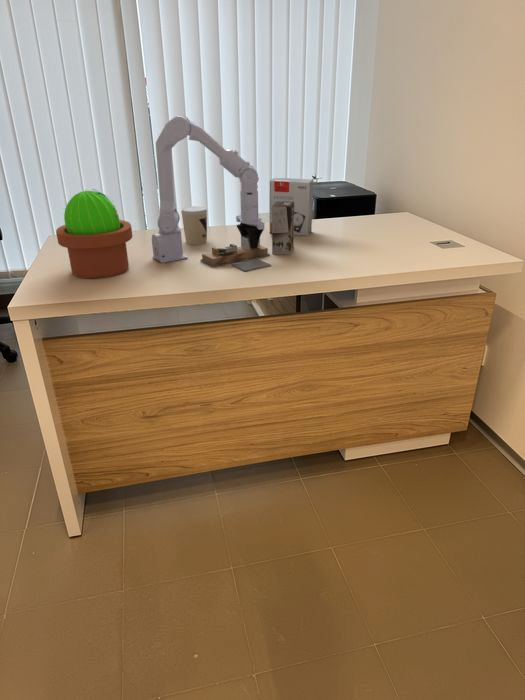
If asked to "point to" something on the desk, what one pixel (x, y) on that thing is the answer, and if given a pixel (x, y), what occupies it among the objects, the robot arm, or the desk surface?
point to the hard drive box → (300, 195)
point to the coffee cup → (195, 224)
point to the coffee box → (282, 227)
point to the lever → (227, 249)
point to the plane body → (232, 255)
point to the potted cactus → (94, 236)
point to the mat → (251, 265)
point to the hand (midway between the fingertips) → (250, 246)
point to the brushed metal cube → (247, 243)
